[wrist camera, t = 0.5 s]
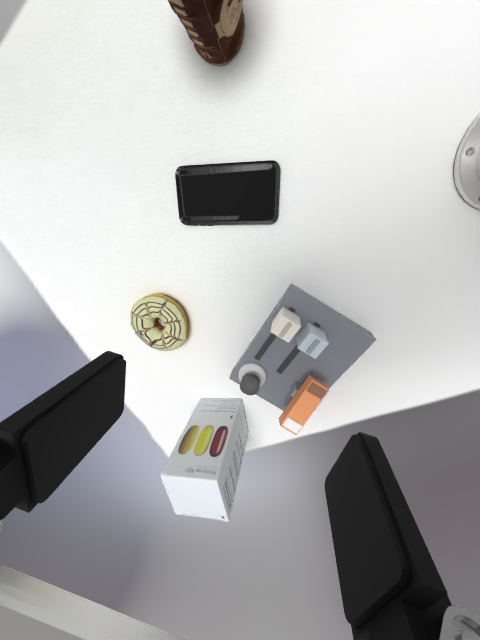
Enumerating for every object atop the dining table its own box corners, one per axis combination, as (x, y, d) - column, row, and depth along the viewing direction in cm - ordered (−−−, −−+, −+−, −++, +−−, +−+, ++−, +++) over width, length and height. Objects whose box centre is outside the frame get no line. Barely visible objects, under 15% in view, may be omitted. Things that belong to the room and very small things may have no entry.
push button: (247, 370, 38) (245, 375, 37) (263, 379, 38) (262, 385, 37) (238, 383, 39) (236, 388, 38) (254, 392, 40) (252, 398, 38)
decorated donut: (153, 349, 47) (143, 358, 43) (130, 299, 43) (117, 306, 40) (199, 339, 44) (191, 348, 40) (177, 285, 40) (167, 291, 37)
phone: (174, 166, 33) (280, 159, 30) (177, 168, 34) (280, 162, 31) (180, 225, 36) (277, 224, 33) (183, 225, 37) (277, 224, 34)
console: (291, 284, 36) (291, 291, 32) (370, 332, 37) (382, 347, 32) (232, 370, 45) (225, 386, 40) (297, 409, 45) (299, 430, 40)
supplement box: (242, 397, 46) (219, 480, 31) (249, 432, 50) (232, 524, 34) (198, 398, 49) (157, 475, 33) (208, 431, 52) (174, 516, 36)
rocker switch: (309, 374, 37) (312, 380, 35) (325, 384, 37) (329, 390, 35) (278, 418, 38) (280, 426, 36) (294, 427, 38) (296, 436, 36)
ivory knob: (282, 306, 35) (282, 316, 31) (299, 316, 35) (301, 327, 31) (272, 321, 36) (270, 333, 32) (288, 331, 36) (288, 344, 32)
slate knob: (307, 321, 35) (310, 333, 31) (324, 331, 35) (329, 344, 31) (296, 336, 36) (297, 349, 32) (312, 346, 36) (315, 360, 32)
